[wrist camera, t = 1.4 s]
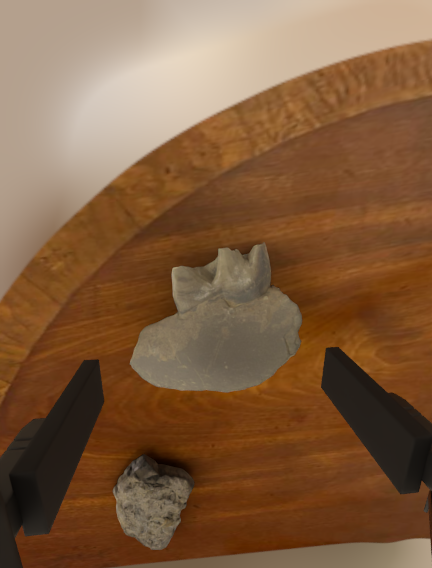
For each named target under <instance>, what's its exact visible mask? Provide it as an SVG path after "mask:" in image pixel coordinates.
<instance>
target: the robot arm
mask: <svg viewBox="0 0 432 568" xmlns="http://www.w3.org/2000/svg"><path fill="white" fill-rule="evenodd" d="M321 388H322V389H323V390H324V392H325V393H326V394H327V396H328V397H329V399H330V400H331V401H332V403H333V404H334V405H335V407H336V408H337V409H338V411H339V412H340V413H341V415H342V416H343V417H344V419H345V420H346V421H347V423H348V424H349V425H350V427H351V428H352V430H353V431H354V432H355V434H356V435H357V436H358V438H359V439H360V440H361V442H362V443H363V444H364V446H365V447H366V448H367V450H368V451H369V452H370V454H371V455H372V456H373V458H374V459H375V460H376V462H377V463H378V465H379V466H380V467H381V469H382V470H383V471H384V473H385V474H386V475H387V477H388V478H389V479H390V481H391V482H392V483H393V485H394V486H395V487H396V489H397V490H398V491H399V493H400V494H408V493H417V492H419V489H420V485H421V481H423V482H424V483H425V484H426V486H427V487H428V488H429V489H430V491H429V494H428V498H427V501H426V505H425V508H424V511H425V512H428V509H429V521H430V537H431V551H432V423H431V422H430V421H428V420H427V419H426V418H425V417H424V416H422V415H421V413H419V412H418V411H417V410H416V409H414V407H413V406H411V405H410V404H409V403H408V402H407V401H406V400H405V399H403V398H401V397H400V396H398V395H396V394H394V393H387V392H386V391H385V390H384V389H383V388H382V387H381V386H379V385H378V384H377V383H376V382H375V381H374V380H373V379H372V378H371V377H370V376H369V375H368V374H367V373H366V372H364V371H363V370H362V369H361V368H360V367H359V366H358V365H357V364H356V363H355V362H354V361H353V360H352V359H350V358H349V357H348V356H347V355H346V354H345V353H344V352H343V351H342V350H341V349H340V348H339V347H330V348H326V352H325V360H324V368H323V376H322V384H321ZM103 403H104V397H103V389H102V381H101V374H100V366H99V360H84V361H83V363H82V364H81V366H80V367H79V369H78V370H77V372H76V373H75V375H74V376H73V378H72V379H71V381H70V382H69V384H68V385H67V387H66V388H65V390H64V392H63V393H62V395H61V396H60V398H59V399H58V401H57V402H56V404H55V405H54V407H53V408H52V410H51V411H50V413H49V414H48V416H47V417H46V418H41V419H33V420H32V421H31V422H29V423H28V424H27V425H26V426H25V427H23V428H22V429H21V431H20V432H19V433H18V435H17V436H16V437H15V439H14V441H13V442H12V443H11V444H10V445H9V447H8V448H7V451H5V452H4V454H3V455H2V456H1V458H0V568H23V566H22V563H21V559H20V556H19V552H18V549H17V545H16V542H15V537H16V535H17V533H18V531H19V529H20V527H21V525H22V526H23V530H24V534H25V536H32V535H41V534H49V532H50V530H51V527H52V525H53V522H54V520H55V518H56V515H57V513H58V511H59V508H60V506H61V503H62V501H63V499H64V496H65V494H66V492H67V489H68V487H69V484H70V482H71V480H72V477H73V475H74V472H75V470H76V468H77V465H78V463H79V461H80V458H81V456H82V453H83V451H84V449H85V446H86V444H87V441H88V439H89V437H90V434H91V432H92V430H93V427H94V425H95V422H96V420H97V418H98V415H99V413H100V411H101V408H102V406H103ZM431 553H432V552H431Z"/></svg>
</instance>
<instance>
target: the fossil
mask: <svg viewBox="0 0 432 568" xmlns="http://www.w3.org/2000/svg"><path fill="white" fill-rule="evenodd" d="M171 276H172V284H173V298H174V302H175V304H176V307H177V310H178V312H177V313H176V314H175V315H173V316H169V317H166V318H165V319H163V320H161V321H159V322H157V323H154V324H151V325H149V326H147V327H145V328H144V329H143V330H142V331H141V332H140V335H139V340H138V343H137V345H136V347H135V349H134V353H133V356H132V359H131V361H130V364H131V366H132V368H133V369H134V370H135V371H136V372H137V373H138V374H139V375H140V376H141V377H142V378H143V379H144V380H146V381H148V382H149V383H151V384H153V385H155V386H157V387H165V388H169V389H178V390H195V391H203V390H210V391H221V392H231V391H236V390H244V389H246V388H249V387H253V386H256V385H259V384H261V383H262V382H264V381H265V380H266V379H268V378H270V377H271V376H272V375H273V374H274V373H275V372H276V370H277V369H278V368H279V367H281V366H282V365H283V364H285V363H286V362H287V361H288V359H289V358H290V357H292V356H293V355H295V354H296V351H297V350H298V348H299V347H300V344H301V340H300V339H299V335H298V331H299V328H300V326H301V324H302V315H301V313H300V310H299V308H298V305H297V304H295V303H294V302H292V301H291V300H290V299H289V298H288V296H287V295H286V294H283V292H281V291H280V288H276V287H275V286H274V285H272V286H270V281H271V267H270V261H269V256H268V252H267V248H266V244H265V242H264V243H263V244H260V245H255V246H254V247H253V248H252V250H251V251H250V253H249V254H244V255H242V254H241V253H240V252H239V250H237V249H235V250H233V251H231V250H230V249H229V248H221V249H218V257H217V258H216V259H215V260H214V261H213V262H211V263H209V264H208V265H206V266H204V267H195V268H191V267H185V266H180V267H173V269H172V275H171Z"/></svg>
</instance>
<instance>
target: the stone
mask: <svg viewBox="0 0 432 568" xmlns="http://www.w3.org/2000/svg"><path fill="white" fill-rule="evenodd" d="M193 487H194V480H193V478H192V477H191V476H190V475H189V474H188V473H187V472H186V471H185V470H184V469H182V468H176V467H173V466H168V465H164V464H157V463H156V461H155V460H153V459H152V458H150V457H148V456H147V455H145V454H143V455H142V456H140V457H139V458H137V459H136V460H133V462H132V463H131V464H130V465H129V466H128V467H127V468H126V469H125V471H124V474H122V475H121V476H120V477H119V479H118V482H117V484H116V485H115V487H114V489H113V494H114V496H115V498H116V501H117V506H116V511H117V516H118V519H119V521H120V524H121V527H122V528H123V530H124V533H125V534H126V535H128V536H131V537H135V538H136V539H137V540H138V541H139V542H140V543H142V544H143V545H144V546H146V547H150V548H151V549H152V550H161V549H164V548H166V546H167V545H168V543H169V542H170V539H171V537H172V536H173V534H174V531H175V530H176V526H177V525H178V524H179V523H180V522H181V518H180V511H181V509H184V508H185V507H186V501H187V499H188V498H189V494H190V493H191V491H192V489H193Z"/></svg>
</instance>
